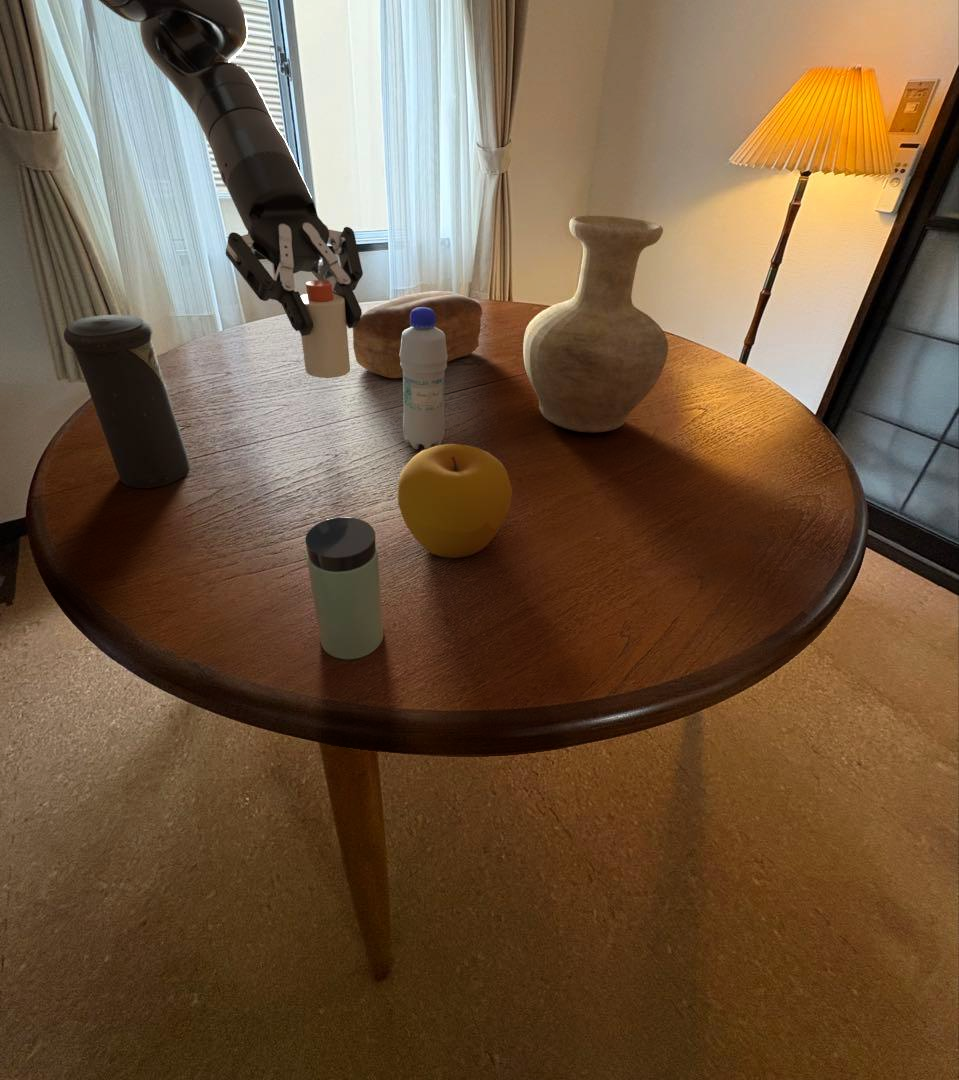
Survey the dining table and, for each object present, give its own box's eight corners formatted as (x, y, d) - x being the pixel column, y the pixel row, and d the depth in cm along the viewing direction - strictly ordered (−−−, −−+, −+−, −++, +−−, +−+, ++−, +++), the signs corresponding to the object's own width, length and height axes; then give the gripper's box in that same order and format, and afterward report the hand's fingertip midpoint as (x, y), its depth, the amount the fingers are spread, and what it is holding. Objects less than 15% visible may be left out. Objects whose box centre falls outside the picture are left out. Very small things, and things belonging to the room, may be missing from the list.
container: (206, 469, 77) (164, 318, 65) (144, 498, 70) (85, 337, 58) (166, 451, 80) (120, 304, 68) (104, 477, 74) (41, 320, 62)
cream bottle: (306, 379, 60) (294, 289, 54) (305, 363, 63) (294, 277, 58) (352, 377, 61) (345, 289, 56) (348, 361, 65) (341, 277, 59)
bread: (489, 353, 121) (493, 293, 114) (395, 388, 103) (393, 319, 96) (441, 338, 128) (442, 280, 120) (345, 368, 109) (339, 302, 102)
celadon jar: (321, 664, 51) (303, 562, 44) (319, 618, 56) (302, 519, 48) (387, 653, 52) (381, 553, 45) (379, 609, 57) (372, 512, 50)
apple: (386, 521, 69) (381, 437, 62) (481, 502, 74) (486, 423, 67) (420, 586, 60) (419, 497, 53) (526, 560, 65) (538, 475, 58)
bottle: (406, 455, 83) (402, 315, 71) (399, 435, 88) (394, 301, 76) (450, 452, 85) (453, 314, 73) (440, 432, 90) (442, 300, 78)
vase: (517, 447, 87) (540, 229, 69) (514, 391, 105) (532, 206, 87) (661, 456, 87) (722, 241, 69) (633, 399, 105) (676, 216, 87)
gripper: (193, 145, 51) (273, 317, 51) (335, 150, 59) (403, 298, 59) (187, 205, 57) (258, 357, 57) (316, 202, 65) (378, 336, 65)
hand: (332, 326), depth 58 cm, fingers closed on cream bottle, 4 cm apart
